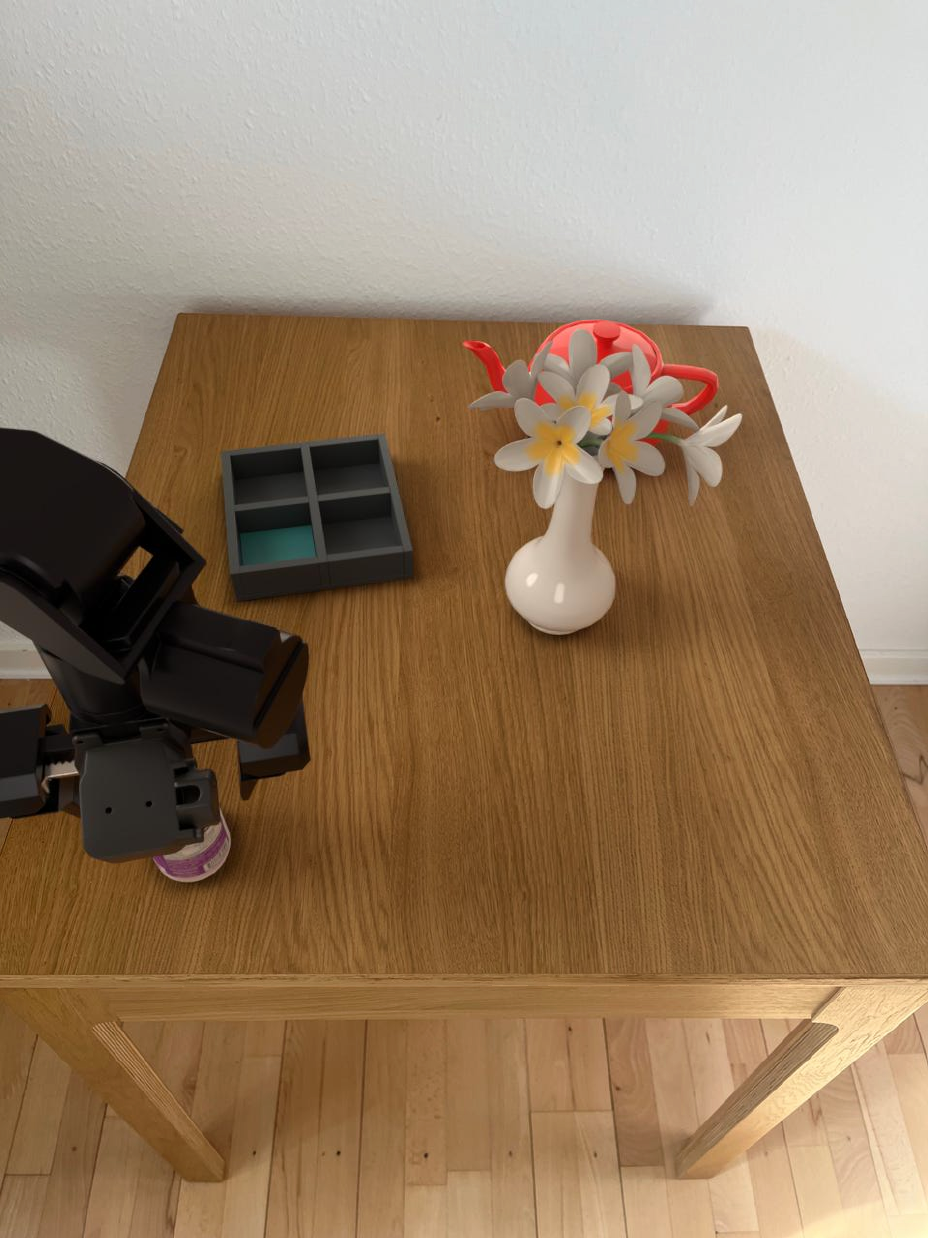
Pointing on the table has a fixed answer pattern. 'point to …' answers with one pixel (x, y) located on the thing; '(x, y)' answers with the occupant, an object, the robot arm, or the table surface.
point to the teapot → (608, 342)
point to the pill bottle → (198, 855)
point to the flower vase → (588, 468)
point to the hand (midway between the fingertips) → (174, 806)
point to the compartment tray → (314, 517)
